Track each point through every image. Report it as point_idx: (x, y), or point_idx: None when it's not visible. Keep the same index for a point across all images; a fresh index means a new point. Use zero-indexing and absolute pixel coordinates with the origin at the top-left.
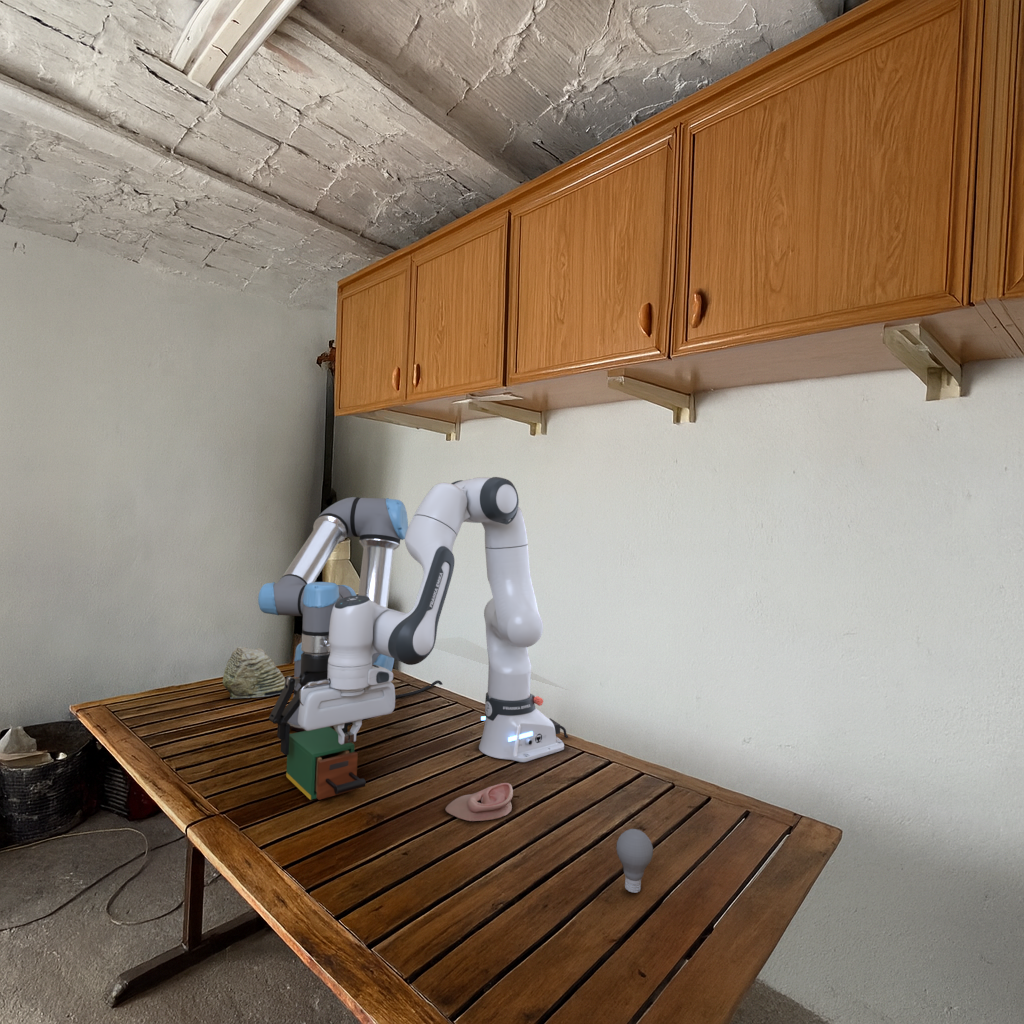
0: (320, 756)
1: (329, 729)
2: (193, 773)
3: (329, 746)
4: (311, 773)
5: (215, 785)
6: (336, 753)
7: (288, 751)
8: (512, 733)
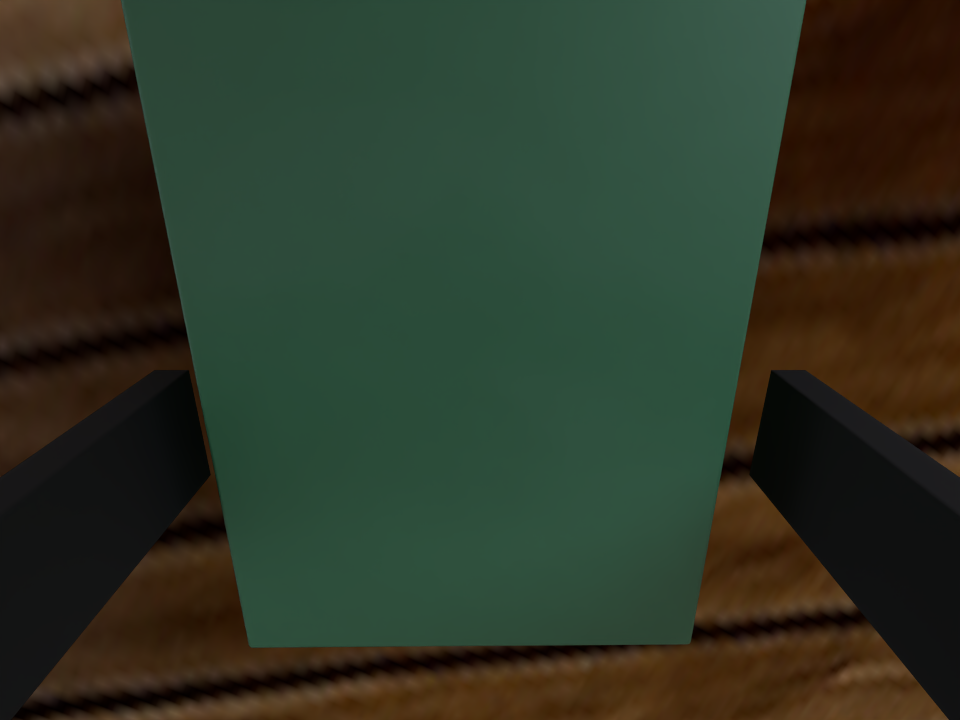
0: None
1: (269, 564)
2: (915, 680)
3: (473, 42)
4: None
5: None
6: None
7: (790, 381)
8: None
